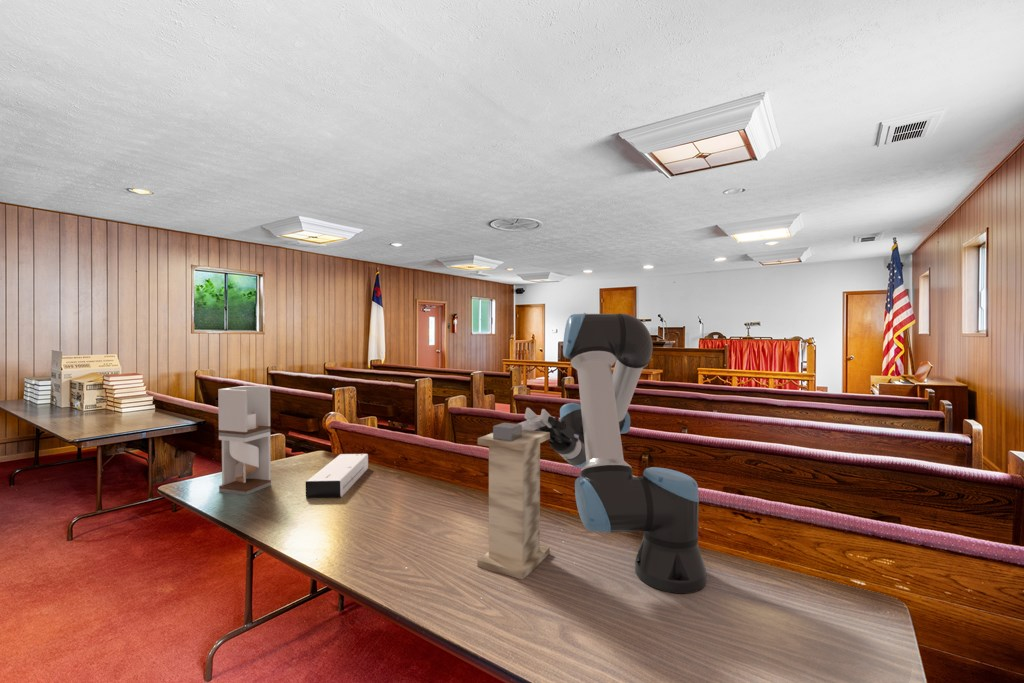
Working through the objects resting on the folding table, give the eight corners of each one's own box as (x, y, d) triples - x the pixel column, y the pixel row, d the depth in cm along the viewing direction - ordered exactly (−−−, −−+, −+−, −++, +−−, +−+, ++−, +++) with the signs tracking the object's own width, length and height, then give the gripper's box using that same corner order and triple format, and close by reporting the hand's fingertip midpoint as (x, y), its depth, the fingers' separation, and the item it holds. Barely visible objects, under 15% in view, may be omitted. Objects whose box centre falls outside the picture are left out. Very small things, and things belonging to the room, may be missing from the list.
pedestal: (507, 542, 121) (507, 427, 120) (549, 553, 115) (550, 432, 114) (477, 566, 109) (477, 438, 108) (522, 579, 103) (523, 444, 102)
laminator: (340, 499, 153) (340, 480, 153) (302, 500, 152) (301, 481, 152) (368, 469, 187) (368, 453, 187) (337, 469, 186) (337, 454, 186)
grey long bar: (538, 421, 128) (539, 410, 128) (554, 423, 126) (555, 412, 126) (493, 439, 107) (493, 426, 107) (511, 441, 105) (511, 428, 105)
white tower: (219, 491, 159) (218, 389, 158) (245, 482, 169) (244, 385, 168) (245, 495, 155) (244, 390, 155) (270, 485, 166) (270, 387, 165)
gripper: (589, 458, 132) (561, 430, 114) (536, 451, 140) (502, 423, 123) (594, 433, 135) (567, 402, 117) (542, 427, 144) (509, 397, 126)
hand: (534, 413), depth 120 cm, fingers open, 4 cm apart
